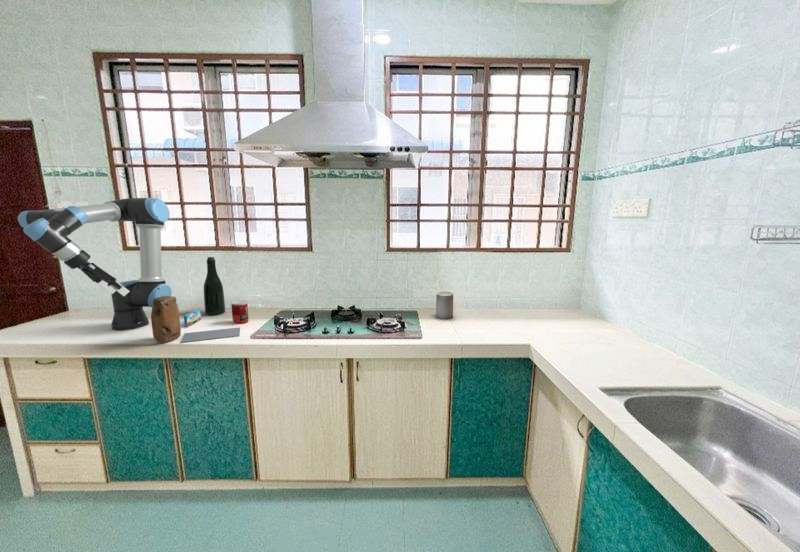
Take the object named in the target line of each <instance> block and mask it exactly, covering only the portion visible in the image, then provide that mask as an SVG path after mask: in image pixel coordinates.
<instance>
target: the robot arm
mask: <svg viewBox="0 0 800 552" xmlns="http://www.w3.org/2000/svg"><path fill="white" fill-rule="evenodd" d="M170 213H171V212H170V209H169V207H168V205H167V204H166V202H164V201H163V200H162V199H160V198H158V197H157V198H155V197H129V198H128V197H127V198H120V199H115V200H108V201H105V202H103V203H101V204H92V205H91V204H89V205H81V206H80V205H79V206H76V205H70V206H68V207H61V208H59V207H58V208H50V209H40V210H33V209H31V210H24V211H21V212H20V213H19V214H18V216H17V221H18V224H19V226H21V228H23V233H24V234H25V235H26V236H28V237H29V238H30V239H31V240H32V241H33V242H35V243H37V244H38V245H39V246H41V247H42V248H43V249H44V250H46V251H47V252H49V253H50V254H52V255H53V256H52V257H53V258H54V259H58V260H60V261H61V262H63V263H64V264H65V265H66V266H67V267H69V268H70V269H71V270H74V269H78V270H80V271H81V272H82V273H83V274H85V275H86V276H87V277H88V278H89V279H91V281H92V282H94V283H95V284H98V285H99V286H100V287H101V288H103V289H104V290H106V291H107V292H108V293H109V294H110V295H111V301H112V306H113V317H112V321H111V325H110V326H111V329H112V330H114V331H123V330H124V331H127V330H133V329H138V328H142V327H145V326H147V325H149V323H150V321H149V317H148V315H147V314H146V312H145V311H144V308H152V307H153V299H155V298H157V297H162V296H171V297H172V291H173V290H172V289H171V287H170V285H169V284H167V282H166V278H164V277H162V273H163V272H162V269H163V267H162V234H161V232H162V231H161V229H163V228H164V227H165V223H167V222H168V221H169V218H170ZM104 221H105V222H106V221H110V222H113V223H114V222H134V225H135V226H136V227H137V228H138V230H139V259H140V261H139V263H140V278H139V277H138V279H132V280H126V281H120V282H119V281H118V280H117V278H116V277H114V276H113V275H111V274H109V273H108V272H107V271H105V270H103V269H102V268H101V267H100V266H98V265H97V264H95V262H89V261H88V260H90V259H91V255H90V254H89V253H88V252H87V251H85V250H84V249H82V248H81V247H80V246H79V245H78V244H77V243H75V242H74V241H73V240H72V239H70V238H69V237H68V236H69V235H71V234H72V233H74V232H75V231H76V230H78V229H79V228H80V227H83V226H84V225H86V224H91V223H99V222H104Z"/></svg>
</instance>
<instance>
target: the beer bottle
mask: <svg viewBox="0 0 800 552" xmlns="http://www.w3.org/2000/svg"><path fill="white" fill-rule="evenodd" d="M216 266H217V265H216V259H215V257H214V256H207V259H206V270H207V271H206V277H205V280H204V283H203V300H204V301H203V302H204V303H203V304H204V305H203V306H204V313H205V315H207V316H212V317H213V316H214V317H215V316H219V315H224V314H225V313H226V303H225V292H224V285H223V282H222V281H221V279H220V277H219V275H218V271H217V267H216Z"/></svg>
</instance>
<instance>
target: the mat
mask: <svg viewBox="0 0 800 552" xmlns="http://www.w3.org/2000/svg"><path fill="white" fill-rule="evenodd" d="M240 331H241V327H240V326H239V327H231V328H220V329H211V330H202V331H194V332H193V331H192V332H185V333H184V335H183V336H182V338H181V341H180V342H179V343H180V344H184V343H193V342H200V341H202V342H203V341H211V340H218V339H227V338H235V337H236V338H237V337H240Z"/></svg>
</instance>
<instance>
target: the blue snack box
mask: <svg viewBox="0 0 800 552" xmlns="http://www.w3.org/2000/svg"><path fill="white" fill-rule="evenodd" d="M200 320H201V321H202V315H201V309H195V310H193V311H191V312H188V313H186V314H185V315H183V323H184V328H190V327H191V326H193V325H195V324H197V323H198V321H199V322H200ZM196 322H197V323H196ZM189 326H190V327H189Z"/></svg>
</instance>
